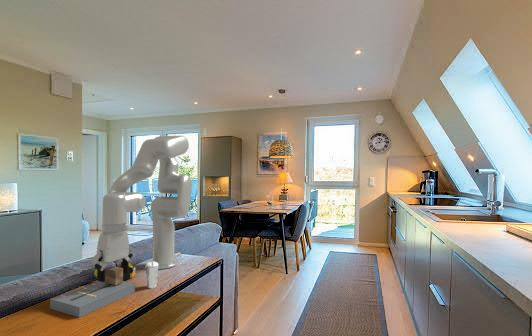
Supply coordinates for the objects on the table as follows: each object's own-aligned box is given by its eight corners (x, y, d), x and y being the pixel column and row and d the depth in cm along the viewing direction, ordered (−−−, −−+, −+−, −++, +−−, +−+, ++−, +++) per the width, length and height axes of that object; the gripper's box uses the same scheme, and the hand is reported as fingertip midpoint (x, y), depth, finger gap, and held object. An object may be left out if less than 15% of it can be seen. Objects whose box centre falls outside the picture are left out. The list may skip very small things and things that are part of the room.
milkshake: (145, 290, 105) (145, 262, 105) (145, 285, 110) (145, 258, 110) (158, 288, 107) (159, 261, 107) (158, 283, 112) (158, 257, 112)
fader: (112, 279, 106) (112, 265, 106) (123, 282, 104) (123, 267, 104) (104, 282, 103) (104, 268, 104) (115, 285, 101) (115, 270, 101)
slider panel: (107, 286, 109) (107, 277, 109) (134, 292, 104) (134, 283, 104) (49, 308, 91) (50, 298, 91) (79, 317, 85) (79, 306, 85)
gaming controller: (91, 283, 112) (108, 287, 108) (91, 269, 112) (108, 273, 108) (125, 271, 126) (141, 275, 121) (125, 259, 126) (142, 262, 121)
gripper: (127, 224, 114) (126, 268, 113) (83, 231, 98) (82, 283, 97) (141, 225, 111) (140, 271, 110) (99, 233, 95) (98, 287, 94)
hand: (113, 276), depth 104 cm, fingers open, 9 cm apart
